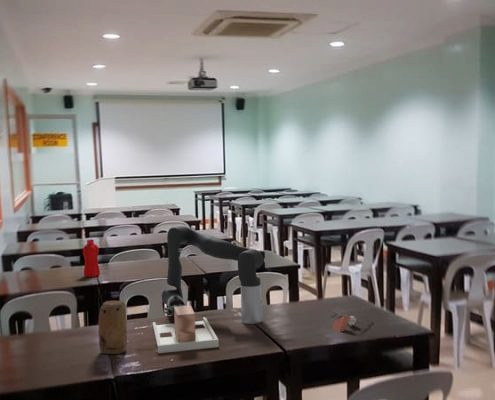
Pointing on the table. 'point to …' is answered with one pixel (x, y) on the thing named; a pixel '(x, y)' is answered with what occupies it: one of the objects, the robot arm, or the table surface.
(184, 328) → the terracotta block
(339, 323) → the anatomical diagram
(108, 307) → the block
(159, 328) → the box
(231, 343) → the table surface
